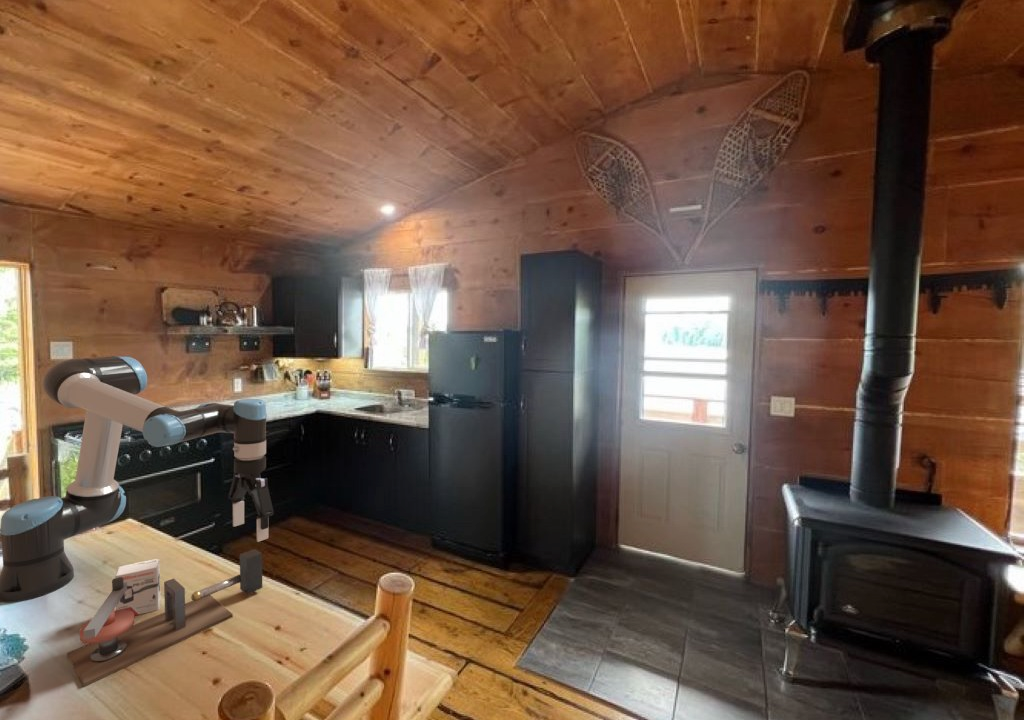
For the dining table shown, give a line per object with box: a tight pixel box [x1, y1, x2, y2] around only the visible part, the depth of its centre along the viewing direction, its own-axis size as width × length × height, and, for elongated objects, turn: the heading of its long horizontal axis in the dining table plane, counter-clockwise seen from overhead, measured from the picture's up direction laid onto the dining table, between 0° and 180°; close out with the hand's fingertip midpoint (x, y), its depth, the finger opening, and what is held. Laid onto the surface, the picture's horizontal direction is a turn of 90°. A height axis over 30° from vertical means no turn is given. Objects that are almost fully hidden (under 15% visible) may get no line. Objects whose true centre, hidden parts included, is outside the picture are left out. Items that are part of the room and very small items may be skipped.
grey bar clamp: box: [190, 548, 263, 601], centre depth 120 cm, size 4×16×10 cm, turn 145°
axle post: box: [90, 637, 127, 663], centre depth 101 cm, size 6×6×5 cm
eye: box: [163, 578, 186, 631], centre depth 111 cm, size 7×2×10 cm, turn 55°
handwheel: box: [79, 577, 135, 645], centre depth 100 cm, size 9×18×8 cm, turn 24°
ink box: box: [114, 558, 161, 617], centre depth 116 cm, size 8×5×12 cm, turn 123°
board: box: [66, 594, 234, 687], centre depth 108 cm, size 14×28×1 cm, turn 145°
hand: (250, 532), depth 124 cm, fingers open, 13 cm apart
